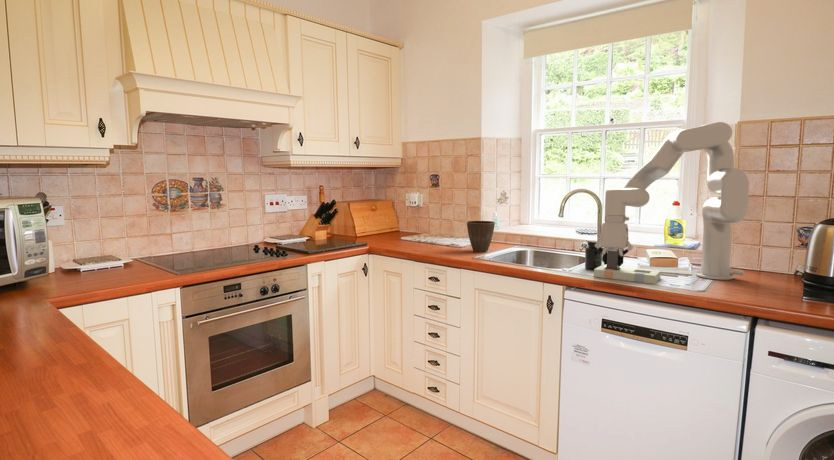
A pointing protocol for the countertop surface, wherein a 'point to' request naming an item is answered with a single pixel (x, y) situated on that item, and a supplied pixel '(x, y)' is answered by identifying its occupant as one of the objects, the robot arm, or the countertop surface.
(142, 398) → the countertop surface
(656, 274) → the socket board
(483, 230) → the plant pot
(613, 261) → the dark grey tall block
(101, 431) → the countertop surface
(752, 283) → the countertop surface
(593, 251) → the supplement bottle
